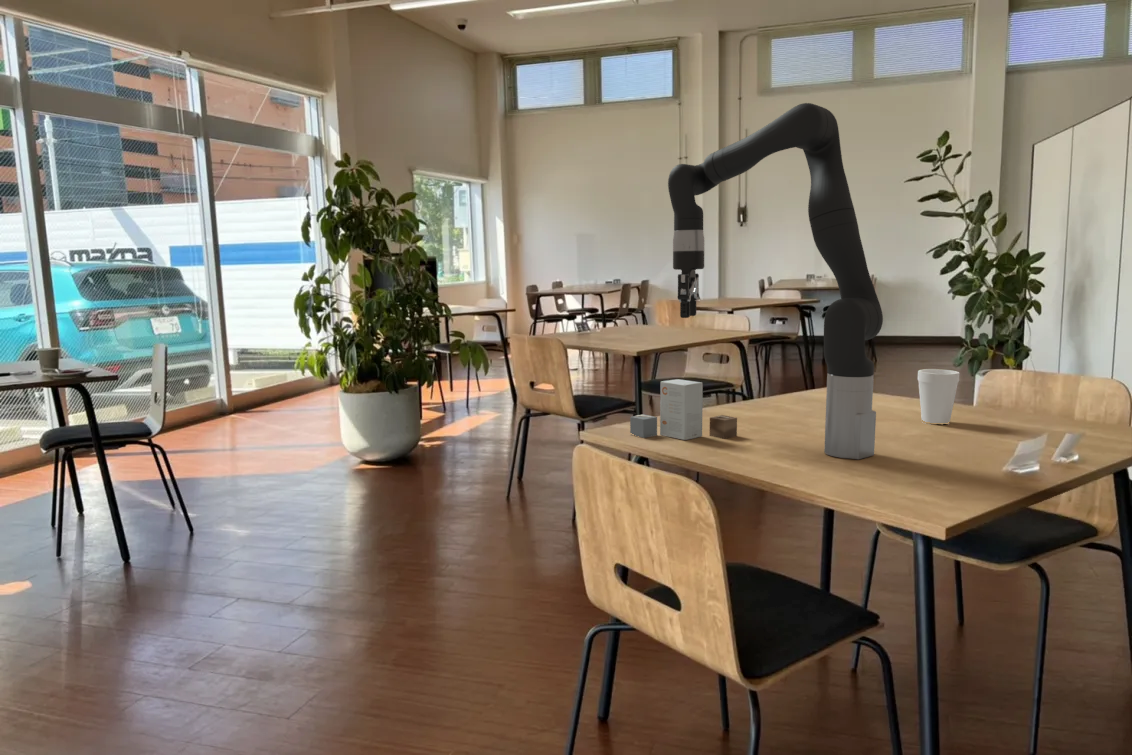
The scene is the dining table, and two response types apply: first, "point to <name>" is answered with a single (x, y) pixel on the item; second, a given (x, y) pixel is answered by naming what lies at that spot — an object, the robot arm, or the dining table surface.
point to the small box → (681, 409)
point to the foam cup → (937, 394)
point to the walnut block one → (723, 426)
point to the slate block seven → (643, 425)
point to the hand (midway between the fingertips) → (688, 316)
